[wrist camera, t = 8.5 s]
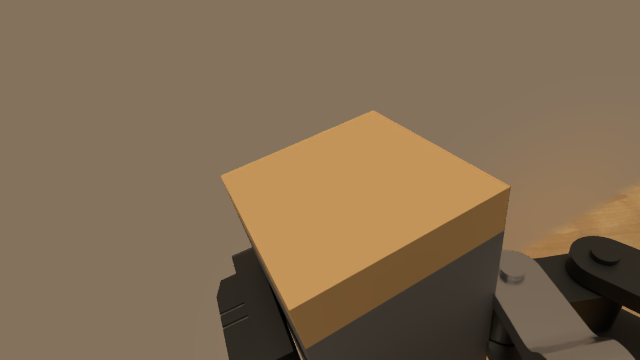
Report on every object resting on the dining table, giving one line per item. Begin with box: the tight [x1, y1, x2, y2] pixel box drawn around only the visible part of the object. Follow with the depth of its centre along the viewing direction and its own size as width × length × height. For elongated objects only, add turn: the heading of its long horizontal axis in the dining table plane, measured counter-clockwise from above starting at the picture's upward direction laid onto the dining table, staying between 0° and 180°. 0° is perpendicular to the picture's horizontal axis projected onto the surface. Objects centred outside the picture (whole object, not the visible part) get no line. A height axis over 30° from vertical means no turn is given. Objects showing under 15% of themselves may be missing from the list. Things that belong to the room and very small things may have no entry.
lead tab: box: [221, 110, 511, 360], centre depth 10 cm, size 4×4×10 cm
